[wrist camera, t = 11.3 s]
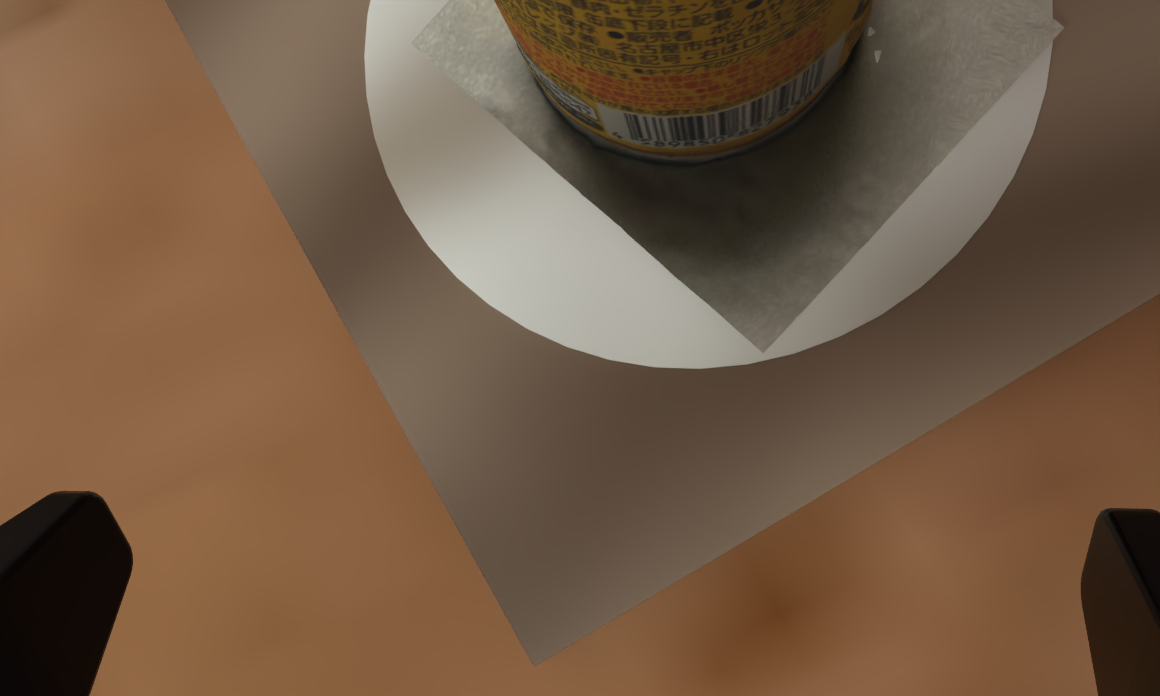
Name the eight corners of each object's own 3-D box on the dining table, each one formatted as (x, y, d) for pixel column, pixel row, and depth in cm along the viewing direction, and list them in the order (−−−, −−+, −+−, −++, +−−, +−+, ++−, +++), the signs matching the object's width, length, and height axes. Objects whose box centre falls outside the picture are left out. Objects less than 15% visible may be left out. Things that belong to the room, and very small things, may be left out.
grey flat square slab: (1353, 173, 17) (1402, 149, 16) (547, 653, 18) (533, 668, 17) (827, -486, 20) (832, -551, 19) (163, -36, 21) (126, -68, 20)
